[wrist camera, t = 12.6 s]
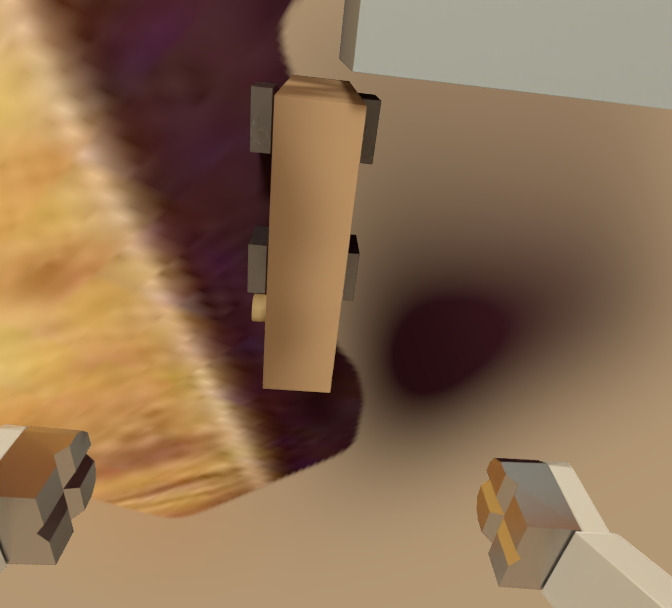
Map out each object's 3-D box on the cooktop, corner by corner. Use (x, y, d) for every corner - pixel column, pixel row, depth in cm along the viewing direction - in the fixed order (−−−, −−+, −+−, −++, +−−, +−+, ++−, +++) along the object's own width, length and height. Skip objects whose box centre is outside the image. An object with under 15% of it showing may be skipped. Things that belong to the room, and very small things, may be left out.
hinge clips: (374, 94, 25) (381, 101, 22) (350, 278, 30) (353, 300, 28) (258, 81, 25) (251, 86, 22) (254, 270, 30) (247, 292, 27)
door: (349, 81, 25) (367, 105, 15) (327, 282, 31) (329, 392, 21) (273, 72, 25) (242, 91, 15) (265, 277, 30) (240, 386, 21)
